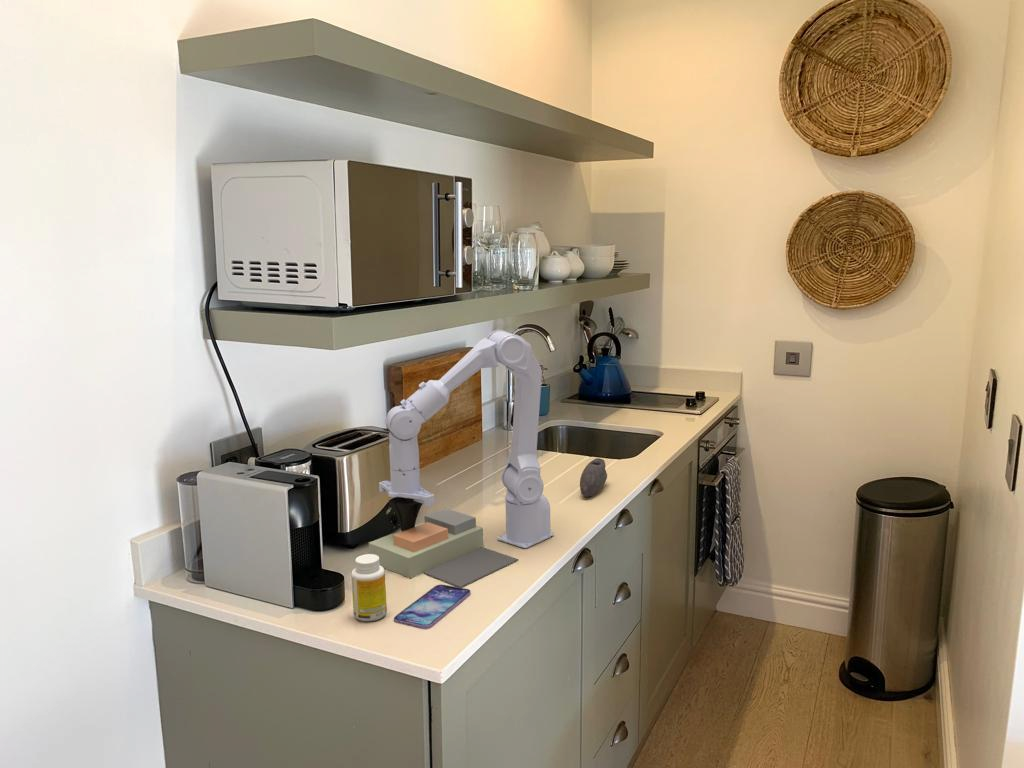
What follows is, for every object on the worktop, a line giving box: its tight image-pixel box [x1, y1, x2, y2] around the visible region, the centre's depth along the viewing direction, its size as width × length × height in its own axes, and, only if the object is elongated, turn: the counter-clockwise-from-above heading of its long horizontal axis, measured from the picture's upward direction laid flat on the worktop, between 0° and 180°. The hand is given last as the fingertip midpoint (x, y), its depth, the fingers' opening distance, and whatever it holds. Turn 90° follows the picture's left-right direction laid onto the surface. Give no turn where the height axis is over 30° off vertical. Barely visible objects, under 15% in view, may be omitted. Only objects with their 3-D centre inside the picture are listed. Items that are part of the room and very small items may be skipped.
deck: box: [368, 521, 484, 579], centre depth 160 cm, size 20×12×4 cm, turn 138°
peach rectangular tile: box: [393, 522, 448, 552], centre depth 156 cm, size 9×6×2 cm, turn 138°
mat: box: [423, 546, 519, 588], centre depth 154 cm, size 16×10×1 cm, turn 138°
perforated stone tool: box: [579, 457, 608, 498], centre depth 196 cm, size 15×5×7 cm, turn 157°
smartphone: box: [393, 583, 472, 630], centre depth 138 cm, size 7×1×15 cm
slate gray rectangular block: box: [423, 507, 477, 535], centre depth 164 cm, size 9×6×2 cm, turn 48°
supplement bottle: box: [350, 553, 388, 622], centre depth 134 cm, size 6×6×10 cm
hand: (407, 532), depth 159 cm, fingers closed
